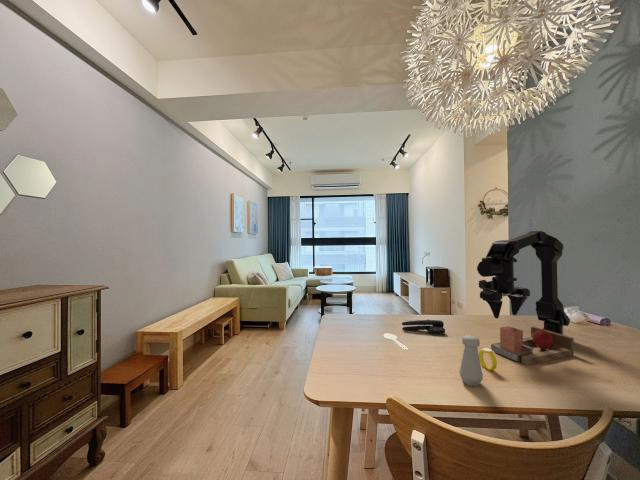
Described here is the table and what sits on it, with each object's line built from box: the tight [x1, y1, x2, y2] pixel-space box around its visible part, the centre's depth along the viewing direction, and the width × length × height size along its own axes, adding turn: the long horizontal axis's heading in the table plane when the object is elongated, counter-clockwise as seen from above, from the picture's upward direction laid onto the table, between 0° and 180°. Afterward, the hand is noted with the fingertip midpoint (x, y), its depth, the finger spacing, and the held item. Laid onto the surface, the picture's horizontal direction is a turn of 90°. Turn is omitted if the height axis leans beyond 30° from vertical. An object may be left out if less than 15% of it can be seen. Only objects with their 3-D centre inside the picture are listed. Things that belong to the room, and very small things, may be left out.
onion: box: [533, 327, 553, 351], centre depth 99 cm, size 6×6×8 cm
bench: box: [490, 326, 575, 366], centre depth 97 cm, size 22×13×6 cm, turn 108°
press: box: [493, 325, 534, 362], centre depth 94 cm, size 7×8×9 cm
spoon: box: [383, 332, 410, 351], centre depth 109 cm, size 5×18×1 cm, turn 11°
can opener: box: [401, 318, 446, 336], centre depth 120 cm, size 18×7×6 cm, turn 72°
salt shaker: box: [458, 334, 484, 388], centre depth 77 cm, size 6×6×13 cm
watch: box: [478, 347, 498, 372], centre depth 85 cm, size 6×3×6 cm, turn 9°
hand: (505, 316), depth 101 cm, fingers open, 9 cm apart
